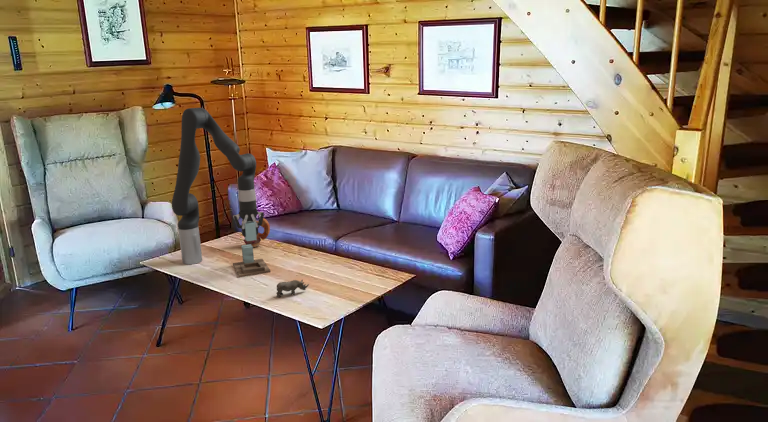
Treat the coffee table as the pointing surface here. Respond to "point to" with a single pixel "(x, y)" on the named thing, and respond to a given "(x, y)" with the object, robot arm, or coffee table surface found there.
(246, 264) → the walnut board
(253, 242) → the mug
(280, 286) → the rhino figurine
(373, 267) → the coffee table surface
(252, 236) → the teal block
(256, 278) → the coffee table surface
